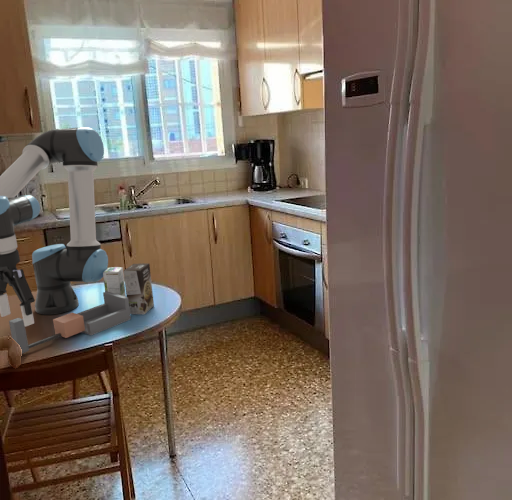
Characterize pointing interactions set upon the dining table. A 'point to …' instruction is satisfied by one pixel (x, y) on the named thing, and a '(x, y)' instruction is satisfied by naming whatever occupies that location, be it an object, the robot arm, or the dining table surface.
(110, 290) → the syrup box
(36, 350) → the dining table surface
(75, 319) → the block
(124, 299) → the tray
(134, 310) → the coffee box
